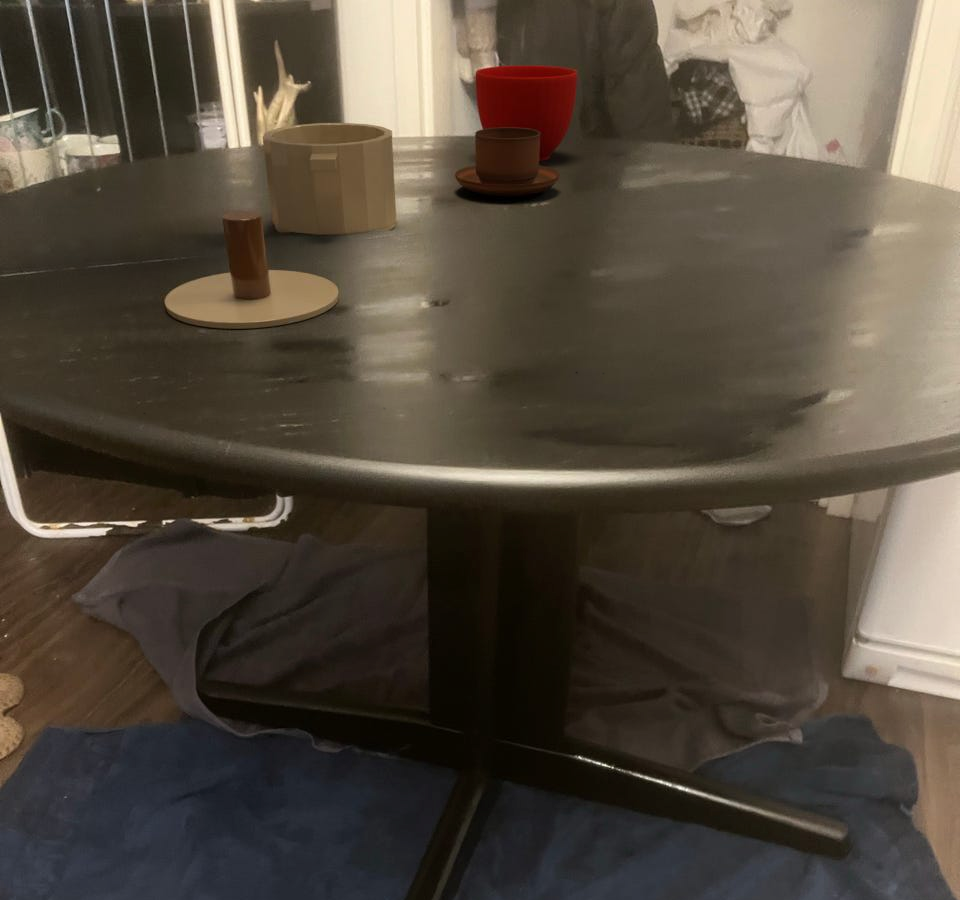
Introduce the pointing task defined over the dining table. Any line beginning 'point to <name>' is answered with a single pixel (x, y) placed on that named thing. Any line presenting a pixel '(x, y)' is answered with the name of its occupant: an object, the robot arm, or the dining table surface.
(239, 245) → the lid
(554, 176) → the cup and saucer
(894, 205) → the dining table surface
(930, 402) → the dining table surface
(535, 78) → the ceramic cup
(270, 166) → the pot
